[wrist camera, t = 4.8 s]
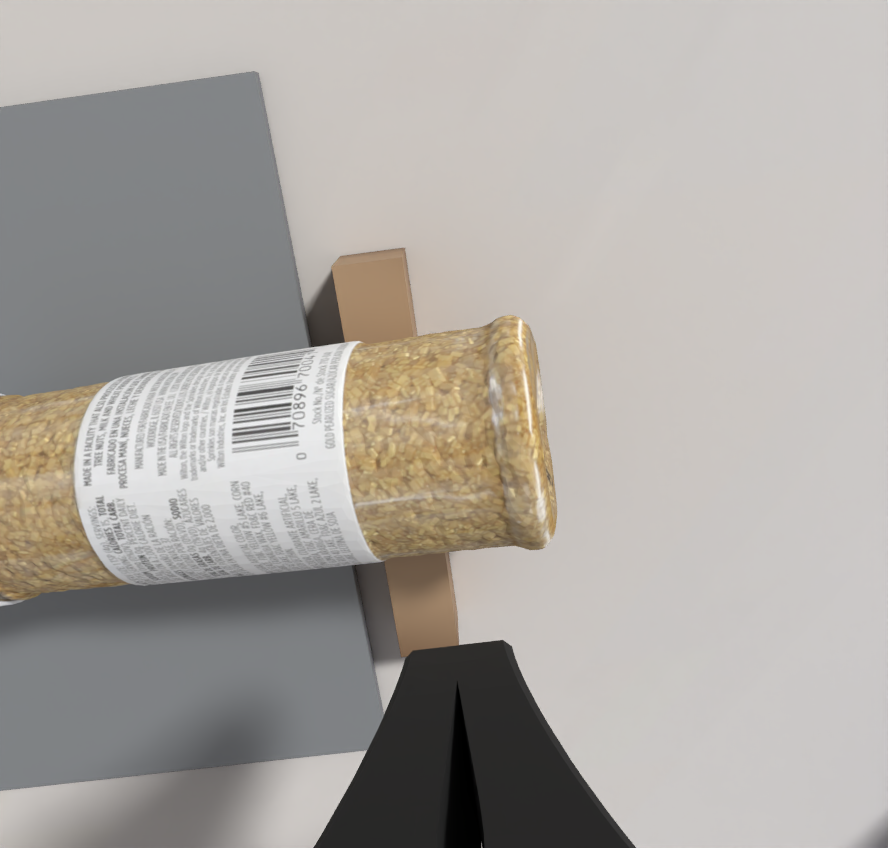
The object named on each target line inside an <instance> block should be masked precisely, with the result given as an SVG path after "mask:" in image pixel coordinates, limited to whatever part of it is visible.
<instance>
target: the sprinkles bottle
mask: <svg viewBox="0 0 888 848" xmlns="http://www.w3.org/2000/svg"><path fill="white" fill-rule="evenodd" d="M556 519H557V504H556V495H555V486H554V477H553V468H552V460H551V454H550V449H549V443H548V439H547V428H546V416H545V408H544V400H543V392H542V384H541V376H540V369H539V362H538V355H537V349H536V343H535V341H534V338H533V335H532V332H531V330H530V328H529V325H527V324H526V323H525V322H524V321H523V320H522V319H520V318H519V317H516V316H513V315H509V316H503V317H500V318H498V319H496V320H495V321H493V322H492V323H490V324H488V325H486V326H483V327H480V328H472V329H466V330H456V331H448V332H443V333H435V334H427V335H423V336H418V337H409V338H404V339H399V340H393V341H385V342H379V343H374V344H366V343H363V342H360V341H353V342H345V343H339V344H332V345H325V346H318V347H311V348H305V349H298V350H291V351H284V352H277V353H270V354H264V355H257V356H250V357H244V358H237V359H230V360H224V361H218V362H211V363H205V364H198V365H192V366H185V367H179V368H172V369H166V370H159V371H152V372H145V373H139V374H133V375H128V376H123V377H119V378H117V379H115V380H113V381H110V382H105V383H99V384H94V385H89V386H81V387H76V388H73V389H67V390H59V391H52V392H46V393H38V394H32V395H27V396H25V397H24V396H21V395H4V394H0V606H6V605H13V604H16V603H20V602H22V601H24V600H28V599H31V598H34V597H36V596H38V595H40V594H41V593H49V592H61V591H67V590H77V589H91V588H97V587H115V586H122V585H127V584H134V585H142V586H146V585H156V584H166V583H176V582H187V581H197V580H208V579H218V578H228V577H238V576H249V575H260V574H271V573H280V572H290V571H300V570H310V569H320V568H331V567H340V566H349V565H359V564H368V563H377V562H383V561H385V560H387V559H390V558H395V557H406V556H419V555H425V554H437V553H446V552H451V551H460V550H476V549H482V548H490V547H504V546H518V547H522V548H525V549H529V550H539V549H543V548H545V547H546V546H547V545H548V544H549V542H550V541H551V540H552V538H553V536H554V532H555V527H556Z"/></svg>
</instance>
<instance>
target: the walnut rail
mask: <svg viewBox="0 0 888 848" xmlns="http://www.w3.org/2000/svg"><path fill="white" fill-rule="evenodd" d="M332 273H333V279H334V284H335V290H336V295H337V301H338V307H339V312H340V318H341V323H342V329H343V335H344V340H345V342H353V341H360V342H363V343H366V344H374V343H379V342H385V341H393V340H399V339H404V338H409V337H417V330H416V323H415V316H414V309H413V302H412V295H411V288H410V281H409V274H408V267H407V260H406V253H405V248H399V249H391V250H384V251H376V252H369V253H361V254H354V255H346V256H340V257H339V258H338V260H337V261H336V262H335V263H334V264H333V265H332ZM384 564H385V569H386V575H387V580H388V586H389V592H390V597H391V603H392V608H393V614H394V619H395V625H396V631H397V636H398V642H399V647H400V653H401V657H406V656H408V655H409V654H410V653H411V652H412V651H413V650H421V649H430V648H439V647H447V646H456V645H459V636H458V616H457V608H456V601H455V594H454V587H453V580H452V573H451V566H450V559H449V552H446V553H437V554H425V555H419V556H406V557H395V558H390V559H387V560H385V561H384Z"/></svg>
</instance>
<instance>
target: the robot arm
mask: <svg viewBox="0 0 888 848" xmlns="http://www.w3.org/2000/svg"><path fill="white" fill-rule="evenodd" d="M481 842H482V848H636V847H635V846H634V845H633V844H632V842H631V841H630V840H629V839H628V837H627V836H626V835H625V834H624V832H623V831H622V830H621V828H620V827H619V826H618V825H617V823H616V822H615V821H614V819H613V818H612V817H611V816H610V814H609V813H608V812H607V810H606V809H605V808H604V806H603V805H602V803H601V802H600V801H599V799H598V798H597V797H596V795H595V794H594V792H593V791H592V790H591V788H590V787H589V786H588V784H587V783H586V782H585V780H584V779H583V777H582V776H581V774H580V773H579V771H578V770H577V768H576V767H575V765H574V764H573V763H572V761H571V760H570V758H569V756H568V755H567V753H566V752H565V750H564V749H563V747H562V745H561V744H560V742H559V741H558V739H557V737H556V736H555V734H554V733H553V731H552V729H551V728H550V726H549V725H548V723H547V721H546V720H545V718H544V716H543V714H542V713H541V711H540V709H539V707H538V706H537V704H536V702H535V700H534V698H533V696H532V694H531V692H530V690H529V689H528V687H527V684H526V682H525V680H524V678H523V676H522V674H521V671H520V669H519V667H518V664H517V661H516V659H515V656H514V653H513V649H512V646H510V645H509V644H508V643H506V642H505V641H504V640H500V641H491V642H482V643H474V644H465V645H456V646H447V647H439V648H430V649H421V650H413V651H412V652H411V653H410V654H409V655H408V656H407V658H406V659H405V662H404V665H403V669H402V672H401V674H400V677H399V680H398V683H397V685H396V688H395V690H394V693H393V695H392V698H391V700H390V703H389V705H388V707H387V710H386V712H385V714H384V716H383V719H382V721H381V723H380V725H379V728H378V730H377V732H376V734H375V736H374V738H373V740H372V742H371V744H370V746H369V748H368V750H367V752H366V754H365V756H364V758H363V760H362V762H361V764H360V766H359V769H358V770H357V772H356V774H355V776H354V778H353V780H352V782H351V784H350V786H349V787H348V789H347V791H346V793H345V794H344V796H343V798H342V800H341V801H340V803H339V805H338V807H337V808H336V810H335V812H334V814H333V815H332V817H331V819H330V821H329V823H328V824H327V826H326V828H325V830H324V831H323V833H322V835H321V836H320V838H319V840H318V841H317V843H316V845H315V846H314V848H481Z"/></svg>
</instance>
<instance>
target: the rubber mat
mask: <svg viewBox="0 0 888 848" xmlns="http://www.w3.org/2000/svg"><path fill="white" fill-rule="evenodd" d="M311 347H312V345H311V339H310V334H309V329H308V324H307V319H306V314H305V309H304V304H303V298H302V293H301V288H300V283H299V278H298V273H297V268H296V263H295V257H294V252H293V247H292V242H291V237H290V232H289V227H288V222H287V217H286V211H285V206H284V201H283V196H282V191H281V186H280V181H279V176H278V170H277V165H276V160H275V155H274V150H273V145H272V140H271V135H270V129H269V124H268V119H267V114H266V109H265V104H264V99H263V94H262V88H261V83H260V78H259V73H257V72H255V71H253V72H246V73H239V74H232V75H225V76H218V77H211V78H204V79H197V80H190V81H183V82H176V83H169V84H161V85H154V86H147V87H140V88H133V89H126V90H119V91H112V92H105V93H98V94H91V95H84V96H77V97H70V98H63V99H55V100H48V101H41V102H34V103H27V104H20V105H13V106H6V107H0V394H4V395H21V396H24V397H25V396H27V395H32V394H38V393H46V392H52V391H59V390H67V389H73V388H76V387H81V386H89V385H94V384H99V383H105V382H110V381H113V380H115V379H117V378H119V377H123V376H128V375H133V374H139V373H145V372H152V371H159V370H166V369H172V368H179V367H185V366H192V365H198V364H205V363H211V362H218V361H224V360H230V359H237V358H244V357H250V356H257V355H264V354H270V353H277V352H284V351H291V350H298V349H305V348H311ZM383 716H384V713H383V708H382V703H381V698H380V693H379V688H378V683H377V678H376V673H375V667H374V662H373V657H372V652H371V647H370V642H369V637H368V632H367V626H366V621H365V616H364V611H363V606H362V601H361V596H360V591H359V585H358V580H357V575H356V570H355V565H349V566H340V567H331V568H320V569H310V570H300V571H290V572H280V573H271V574H260V575H249V576H238V577H228V578H218V579H208V580H197V581H187V582H176V583H166V584H156V585H146V586H142V585H134V584H127V585H122V586H115V587H97V588H91V589H77V590H67V591H61V592H49V593H41V594H40V595H38V596H36V597H34V598H31V599H28V600H24V601H22V602H20V603H16V604H13V605H6V606H0V791H2V790H11V789H20V788H29V787H38V786H47V785H56V784H65V783H74V782H83V781H93V780H102V779H111V778H120V777H129V776H138V775H147V774H156V773H165V772H174V771H183V770H192V769H201V768H210V767H219V766H228V765H237V764H246V763H255V762H264V761H273V760H282V759H291V758H300V757H309V756H318V755H328V754H337V753H346V752H355V751H364V750H368V748H369V746H370V744H371V742H372V740H373V738H374V736H375V734H376V732H377V730H378V728H379V725H380V723H381V721H382V719H383Z"/></svg>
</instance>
